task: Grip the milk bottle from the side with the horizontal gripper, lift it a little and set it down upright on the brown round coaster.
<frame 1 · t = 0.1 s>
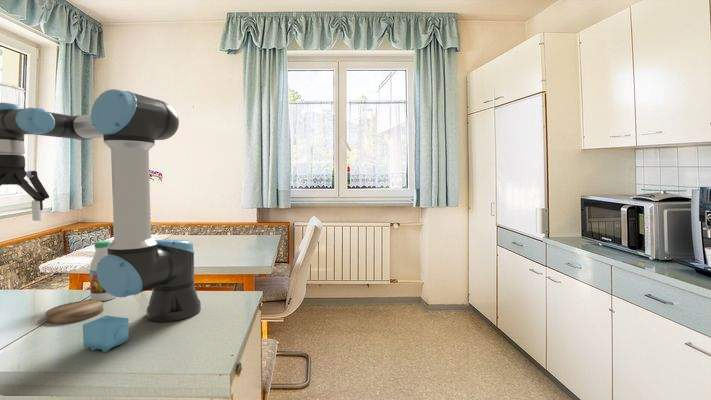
hand: (11, 223, 111), 28 cm above the table, tool pointing down, fingers open, 13 cm apart
milk bottle: (104, 298, 125), on the table
light blue box: (109, 347, 89), on the table
brown round coaster: (75, 314, 110), on the table
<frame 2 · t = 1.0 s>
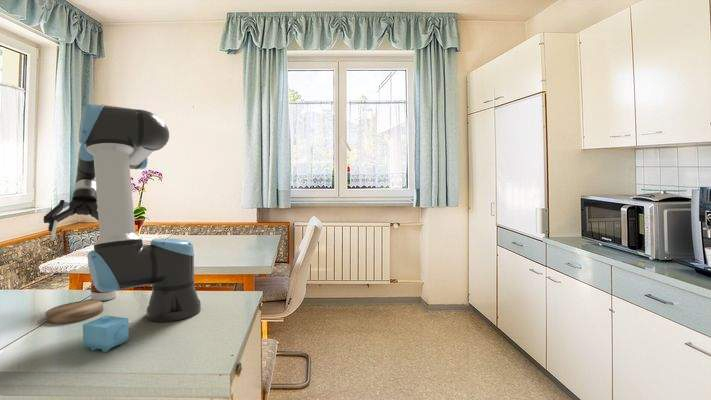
hand: (78, 239, 121), 21 cm above the table, tool tilted 45°, fingers open, 13 cm apart
milk bottle: (104, 298, 125), on the table, touching gripper
everything else where it was.
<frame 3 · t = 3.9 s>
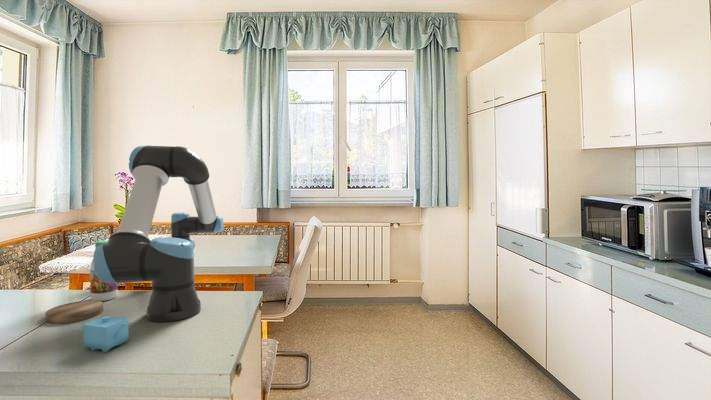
hand: (124, 261, 133), 11 cm above the table, tool horizontal, fingers open, 13 cm apart
milk bottle: (104, 298, 125), on the table
everything else where it was.
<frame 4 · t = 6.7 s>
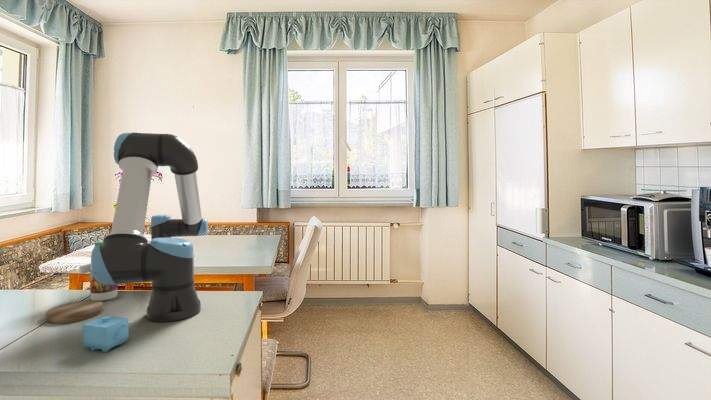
hand: (90, 270, 119), 11 cm above the table, tool horizontal, fingers closed on milk bottle, 7 cm apart
milk bottle: (104, 298, 125), on the table, touching gripper
everything else where it was.
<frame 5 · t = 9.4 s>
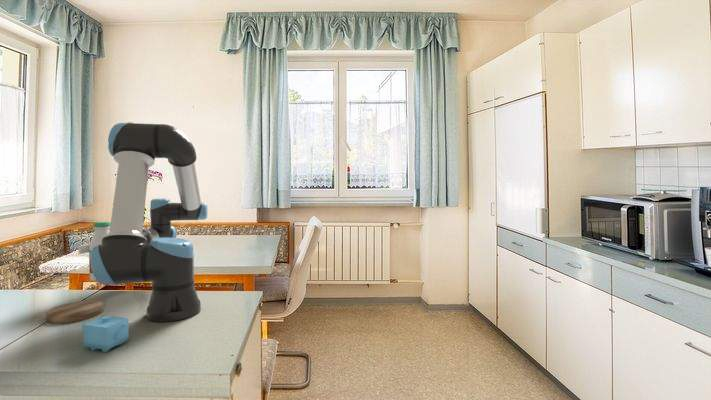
hand: (89, 250, 119), 18 cm above the table, tool horizontal, fingers closed on milk bottle, 7 cm apart
milk bottle: (103, 279, 124), point 7 cm above the table, touching gripper
everything else where it was.
when the fingers open (14 cm above the table, at t = 12.5 s): milk bottle stays where it is, resting on brown round coaster.
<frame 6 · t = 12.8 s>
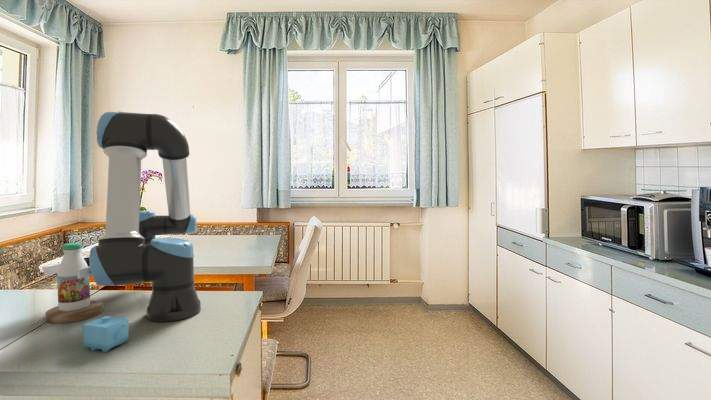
hand: (61, 272, 105), 14 cm above the table, tool horizontal, fingers open, 11 cm apart
milk bottle: (74, 308, 110), point 2 cm above the table, touching brown round coaster
everything else where it was.
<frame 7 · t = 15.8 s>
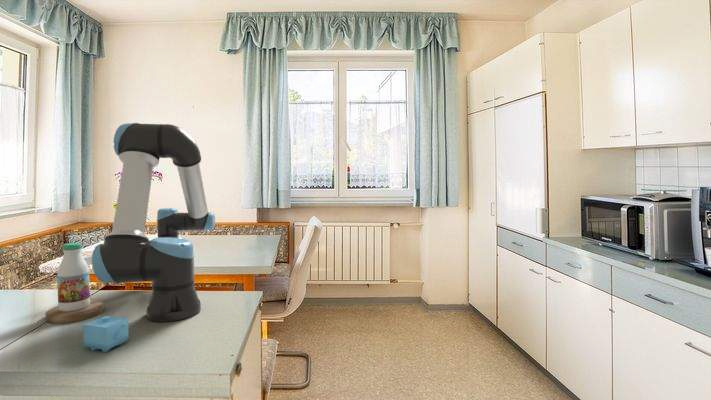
hand: (101, 262, 118), 14 cm above the table, tool horizontal, fingers open, 13 cm apart
nothing on the table moved.
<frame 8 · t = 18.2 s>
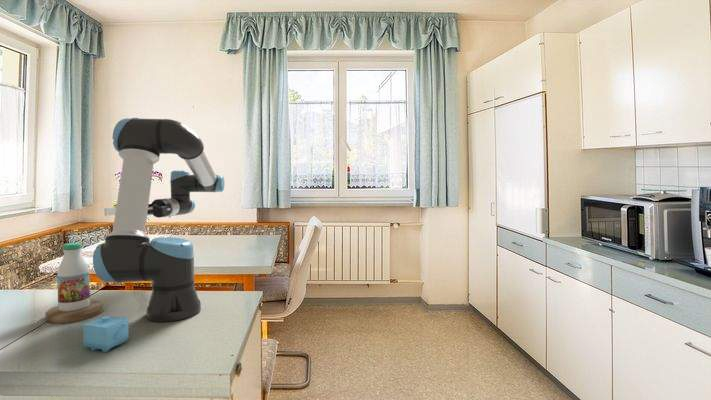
hand: (121, 212, 127), 30 cm above the table, tool horizontal, fingers open, 13 cm apart
nothing on the table moved.
at the end: milk bottle inside the target area on the brown round coaster (0.3 cm from its centre), point 1.8 cm above the brown round coaster's base; milk bottle tilted 0° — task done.
